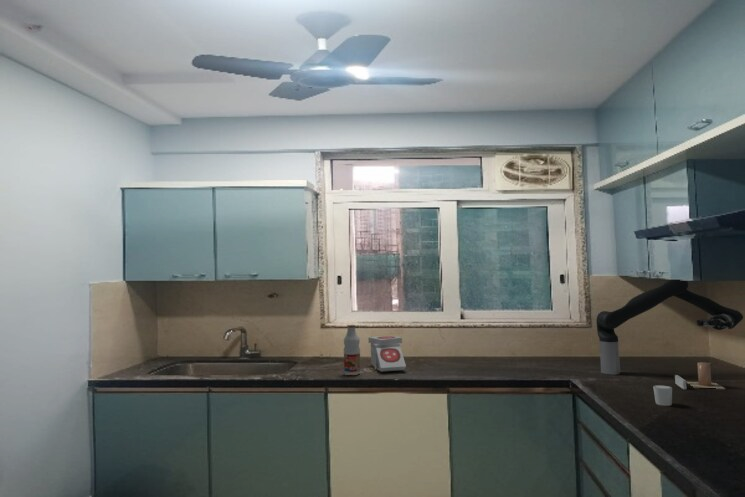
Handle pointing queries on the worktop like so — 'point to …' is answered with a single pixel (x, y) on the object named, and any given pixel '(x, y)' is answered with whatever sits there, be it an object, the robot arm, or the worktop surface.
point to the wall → (680, 382)
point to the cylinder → (704, 373)
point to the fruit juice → (351, 351)
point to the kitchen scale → (387, 353)
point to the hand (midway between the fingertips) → (709, 324)
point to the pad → (696, 385)
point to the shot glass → (663, 395)
